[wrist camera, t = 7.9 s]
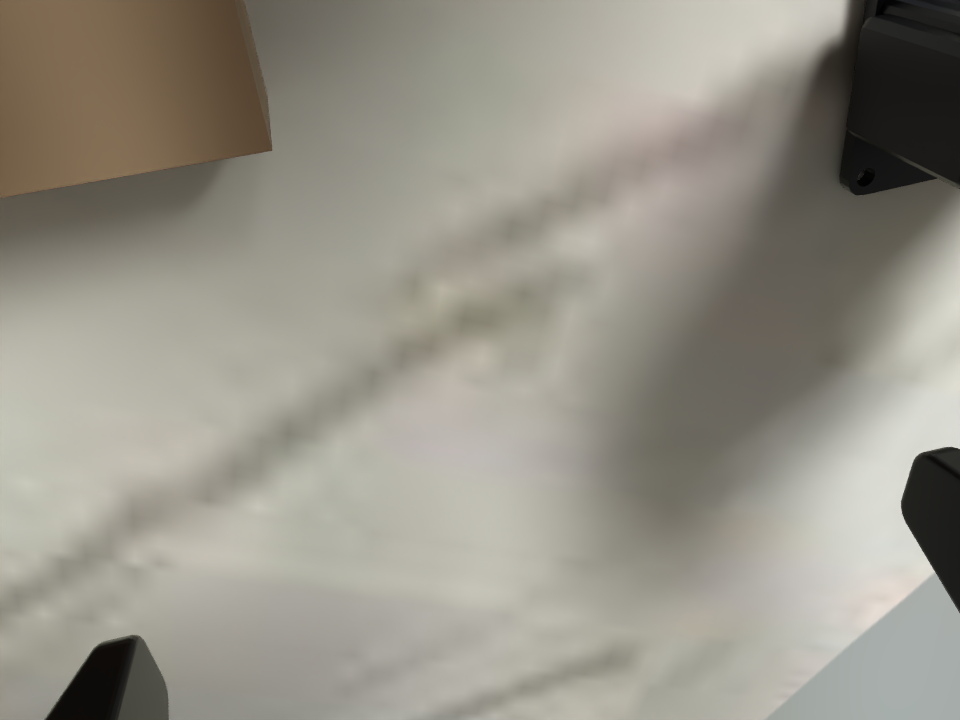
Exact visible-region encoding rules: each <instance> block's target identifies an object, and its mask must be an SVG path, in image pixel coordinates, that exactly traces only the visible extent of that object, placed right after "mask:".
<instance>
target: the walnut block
mask: <svg viewBox="0 0 960 720" xmlns="http://www.w3.org/2000/svg"><path fill="white" fill-rule="evenodd" d="M267 151H272V143H271V132H270V121H269V110H268V99H267V93H266V89H265V85H264V81H263V77H262V73H261V69H260V65H259V61H258V56H257V52H256V48H255V44H254V40H253V36H252V32H251V28H250V24H249V20H248V16H247V11H246V7H245V3H244V0H0V198H3V197H8V196H14V195H20V194H26V193H31V192H37V191H43V190H49V189H54V188H60V187H66V186H72V185H77V184H83V183H89V182H95V181H100V180H106V179H112V178H118V177H123V176H129V175H135V174H141V173H146V172H152V171H158V170H164V169H169V168H175V167H181V166H187V165H192V164H198V163H204V162H210V161H215V160H221V159H227V158H233V157H238V156H244V155H250V154H256V153H261V152H267Z"/></svg>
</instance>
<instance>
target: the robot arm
mask: <svg viewBox="0 0 960 720" xmlns="http://www.w3.org/2000/svg"><path fill="white" fill-rule="evenodd" d="M846 126H847V130H846V136H845V143H844V150H843V156H842V163H841V169H840V184H841V185H842V187H843V188H845V189H846V190H848V191H850V192H851V193H853V194H855V195H866V194H870V193H875V192H879V191H884V190H888V189H893V188H897V187H901V186H906V185H910V184H915V183H919V182H924V181H928V180H933V179H937V178H939V179H940V180H942V181H944V182H946V183H948V184H950V185H952V186H954V187H956V188H958V189H960V0H866V4H865V11H864V17H863V24H862V29H861V32H860V38H859V45H858V52H857V58H856V65H855V72H854V78H853V85H852V92H851V98H850V105H849V112H848V118H847V125H846ZM864 169H865V172H864V175H863V176H862V177H861V178H860V179H859V180H857V178H858V176H859V174H860V173H861V172H862V171H863V170H864ZM901 509H902V514H903V517H904V520H905V522H906V524H907V525H908V527H909V529H910V531H911V532H912V534H913V536H914V537H915V539H916V541H917V542H918V544H919V546H920V547H921V549H922V551H923V552H924V554H925V556H926V557H927V559H928V561H929V562H930V564H931V566H932V567H933V569H934V571H935V572H936V574H937V575H938V577H939V579H940V581H941V582H942V584H943V586H944V588H945V589H946V591H947V593H948V594H949V596H950V598H951V599H952V601H953V603H954V604H955V606H956V608H957V609H958V611H959V613H960V449H958V448H954V447H944V448H940V449H935V450H931V451H927V452H923V453H920V454H919V455H918V456H917V457H916V458H915V459H914V461H913V464H912V467H911V470H910V474H909V477H908V480H907V484H906V487H905V490H904V493H903V497H902V500H901ZM45 720H169V715H168V693H167V687H166V684H165V680H164V678H163V676H162V674H161V672H160V670H159V668H158V666H157V664H156V662H155V660H154V658H153V656H152V655H151V653H150V651H149V649H148V647H147V645H146V643H145V641H144V640H143V639H142V638H141V637H140V636H138V635H130V636H126V637H121V638H117V639H113V640H108V641H105V642H102V643H100V644H98V645H97V646H96V647H95V648H94V649H93V650H92V651H91V653H90V654H89V656H88V657H87V659H86V660H85V662H84V663H83V664H82V666H81V667H80V669H79V670H78V672H77V673H76V675H75V676H74V678H73V679H72V680H71V682H70V683H69V685H68V686H67V688H66V689H65V691H64V692H63V694H62V695H61V696H60V698H59V699H58V701H57V702H56V704H55V705H54V707H53V708H52V710H51V711H50V712H49V714H48V715H47V717H46V718H45Z"/></svg>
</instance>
